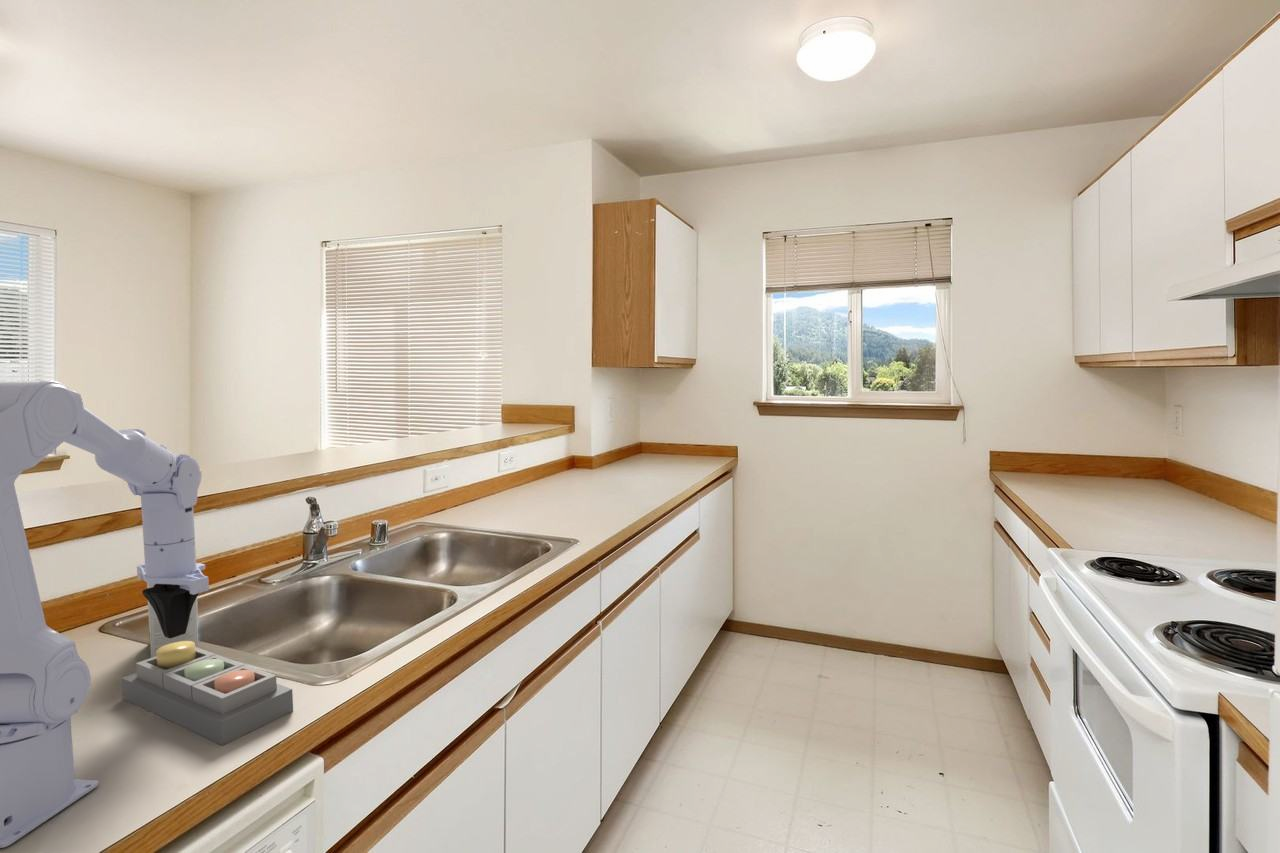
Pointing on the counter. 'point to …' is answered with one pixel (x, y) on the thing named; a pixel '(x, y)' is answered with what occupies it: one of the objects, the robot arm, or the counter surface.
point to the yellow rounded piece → (175, 654)
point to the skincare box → (157, 634)
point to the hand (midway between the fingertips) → (175, 635)
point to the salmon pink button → (233, 680)
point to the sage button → (203, 669)
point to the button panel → (207, 698)
